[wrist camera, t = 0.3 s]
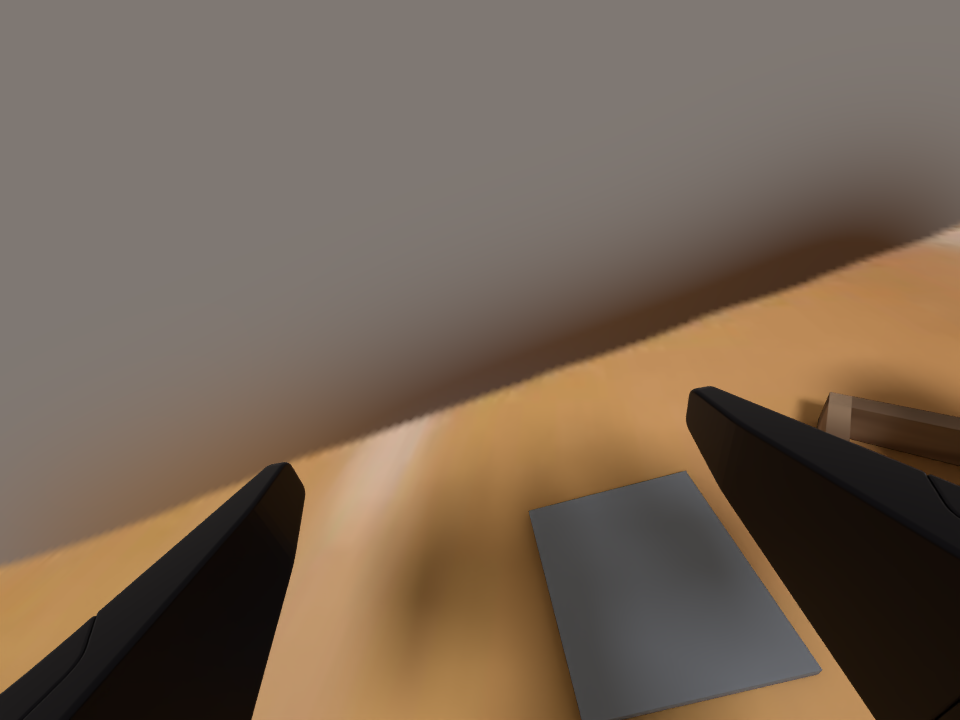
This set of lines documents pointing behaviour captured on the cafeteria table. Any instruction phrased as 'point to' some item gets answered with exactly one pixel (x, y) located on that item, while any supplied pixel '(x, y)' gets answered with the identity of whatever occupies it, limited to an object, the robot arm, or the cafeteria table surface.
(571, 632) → the pad
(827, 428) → the u-shaped wooden frame
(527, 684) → the cafeteria table surface
